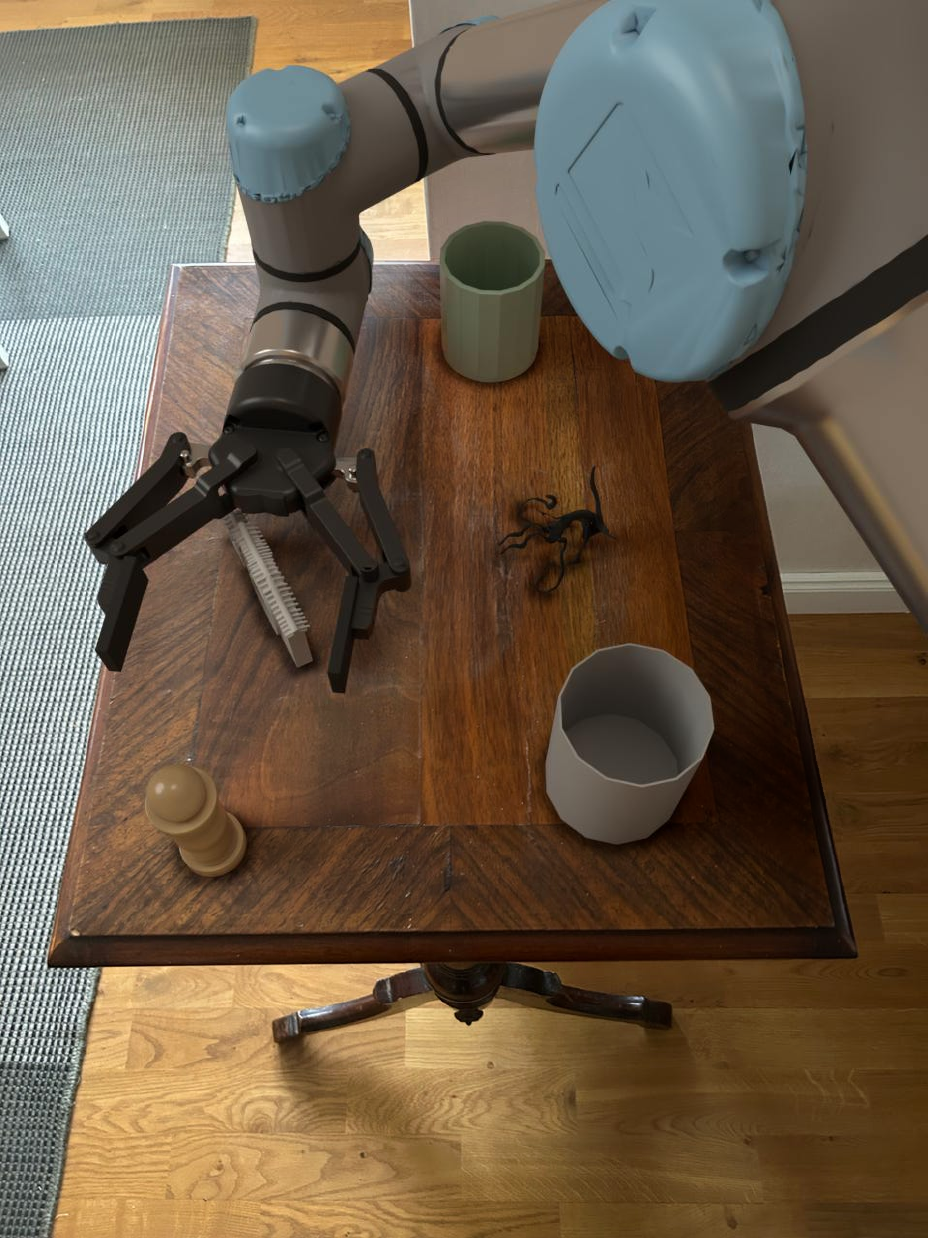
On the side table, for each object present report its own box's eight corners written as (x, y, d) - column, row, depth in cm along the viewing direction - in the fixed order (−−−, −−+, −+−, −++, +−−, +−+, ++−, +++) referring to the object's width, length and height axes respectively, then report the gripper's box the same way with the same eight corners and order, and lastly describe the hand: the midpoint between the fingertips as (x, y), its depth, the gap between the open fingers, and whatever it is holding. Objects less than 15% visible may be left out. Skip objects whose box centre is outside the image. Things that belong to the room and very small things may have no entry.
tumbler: (538, 314, 83) (545, 222, 75) (536, 384, 79) (544, 295, 71) (445, 310, 83) (443, 219, 75) (439, 380, 79) (436, 292, 71)
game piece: (251, 817, 62) (212, 749, 52) (241, 879, 60) (199, 820, 50) (189, 814, 62) (139, 746, 52) (178, 875, 60) (123, 817, 51)
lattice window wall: (228, 540, 72) (210, 490, 67) (252, 530, 72) (235, 480, 67) (295, 674, 67) (281, 631, 61) (320, 663, 67) (308, 619, 62)
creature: (514, 609, 70) (626, 580, 69) (499, 571, 66) (619, 539, 65) (493, 517, 74) (600, 488, 73) (478, 476, 69) (591, 444, 68)
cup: (687, 732, 64) (722, 661, 56) (671, 857, 61) (705, 801, 52) (557, 705, 65) (571, 631, 57) (532, 825, 62) (543, 766, 53)
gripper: (470, 446, 72) (434, 718, 62) (128, 417, 73) (37, 680, 63) (470, 372, 65) (431, 663, 55) (95, 342, 67) (-12, 621, 56)
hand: (221, 673), depth 59 cm, fingers open, 13 cm apart
